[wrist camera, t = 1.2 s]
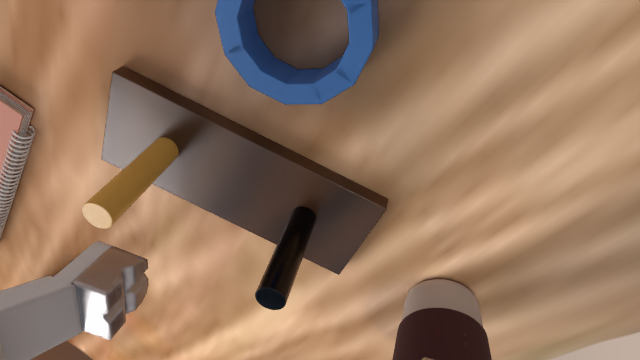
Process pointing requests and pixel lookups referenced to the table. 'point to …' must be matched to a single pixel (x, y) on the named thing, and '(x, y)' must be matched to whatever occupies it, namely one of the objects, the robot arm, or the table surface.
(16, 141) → the notebook
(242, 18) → the tape roll
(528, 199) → the table surface
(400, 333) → the coffee cup
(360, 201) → the peg rack
